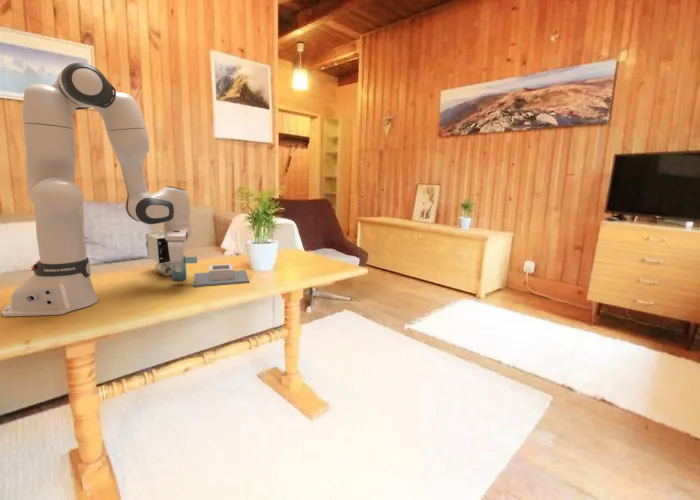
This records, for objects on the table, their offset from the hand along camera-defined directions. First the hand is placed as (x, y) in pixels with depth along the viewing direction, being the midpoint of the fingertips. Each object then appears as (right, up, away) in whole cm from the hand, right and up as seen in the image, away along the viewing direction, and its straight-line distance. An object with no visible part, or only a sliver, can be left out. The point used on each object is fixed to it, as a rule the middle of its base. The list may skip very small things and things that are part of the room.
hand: (178, 269), depth 131 cm
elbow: (+2, -4, +2) cm, 5 cm away
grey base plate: (+12, -5, +11) cm, 17 cm away
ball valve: (-12, -3, +15) cm, 20 cm away
